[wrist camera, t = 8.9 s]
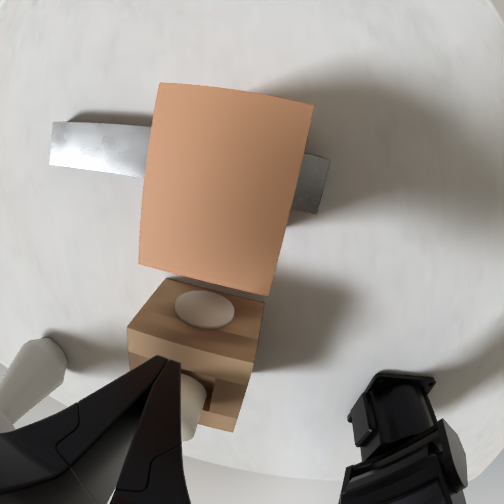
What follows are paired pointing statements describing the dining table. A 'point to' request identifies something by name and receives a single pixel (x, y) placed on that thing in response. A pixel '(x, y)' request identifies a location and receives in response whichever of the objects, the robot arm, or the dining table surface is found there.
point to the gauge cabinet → (201, 343)
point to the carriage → (220, 183)
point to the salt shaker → (30, 379)
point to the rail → (135, 156)
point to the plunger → (191, 405)
